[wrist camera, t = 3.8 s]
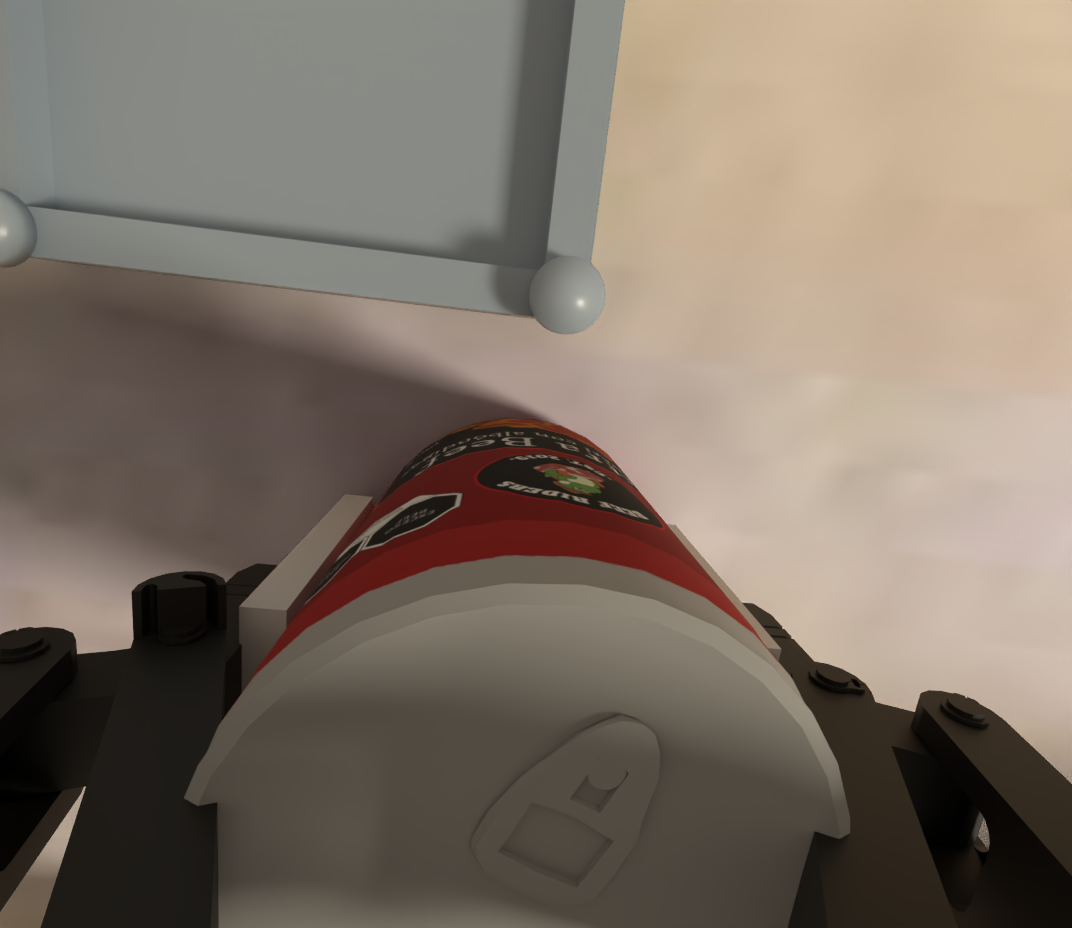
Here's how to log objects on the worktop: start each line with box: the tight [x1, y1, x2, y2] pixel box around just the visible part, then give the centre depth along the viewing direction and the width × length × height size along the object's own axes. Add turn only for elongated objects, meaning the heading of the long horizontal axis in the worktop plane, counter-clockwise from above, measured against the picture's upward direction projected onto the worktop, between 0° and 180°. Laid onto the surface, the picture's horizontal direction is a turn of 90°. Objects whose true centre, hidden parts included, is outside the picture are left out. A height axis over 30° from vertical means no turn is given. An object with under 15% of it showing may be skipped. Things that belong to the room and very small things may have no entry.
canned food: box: [184, 418, 850, 928], centre depth 12 cm, size 8×8×11 cm
